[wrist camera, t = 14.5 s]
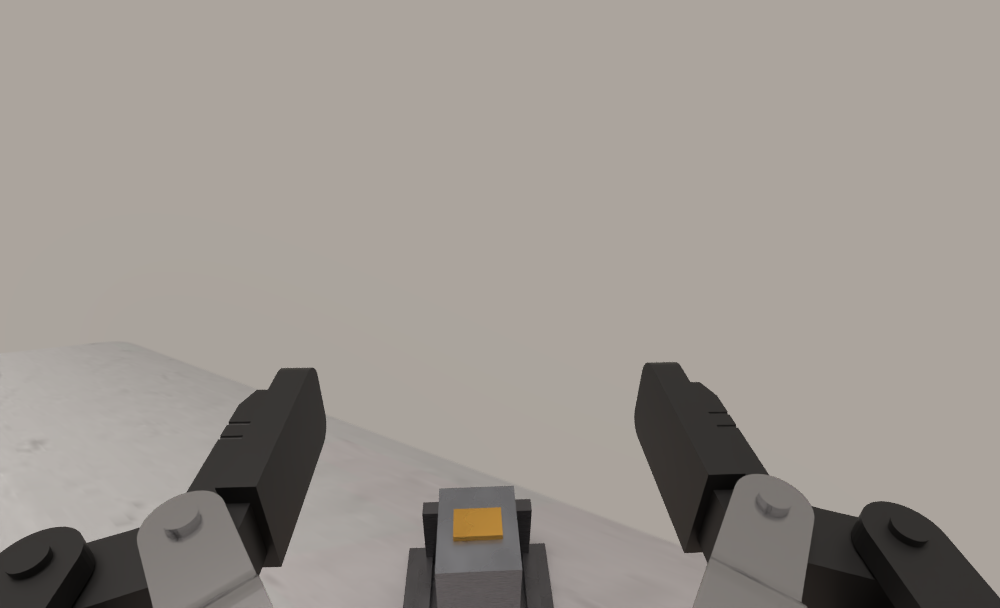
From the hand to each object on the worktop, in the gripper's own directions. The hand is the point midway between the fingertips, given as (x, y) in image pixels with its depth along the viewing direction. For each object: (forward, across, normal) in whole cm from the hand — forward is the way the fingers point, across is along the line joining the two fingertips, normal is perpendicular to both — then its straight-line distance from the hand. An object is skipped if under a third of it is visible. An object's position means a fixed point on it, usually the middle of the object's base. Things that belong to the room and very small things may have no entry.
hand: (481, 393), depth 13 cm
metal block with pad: (+11, 0, +30) cm, 31 cm away
